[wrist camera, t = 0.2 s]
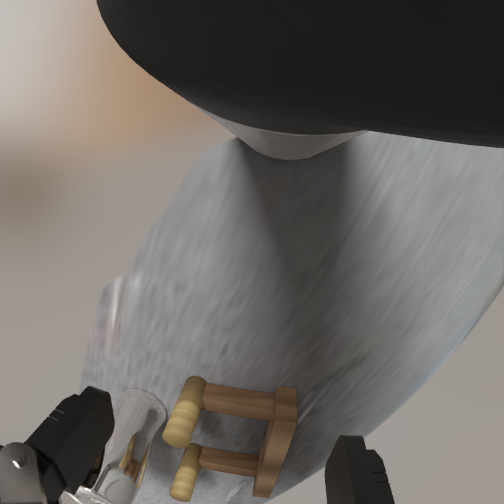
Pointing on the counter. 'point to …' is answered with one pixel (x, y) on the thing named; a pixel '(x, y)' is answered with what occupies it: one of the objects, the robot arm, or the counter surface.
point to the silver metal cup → (124, 451)
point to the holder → (261, 467)
